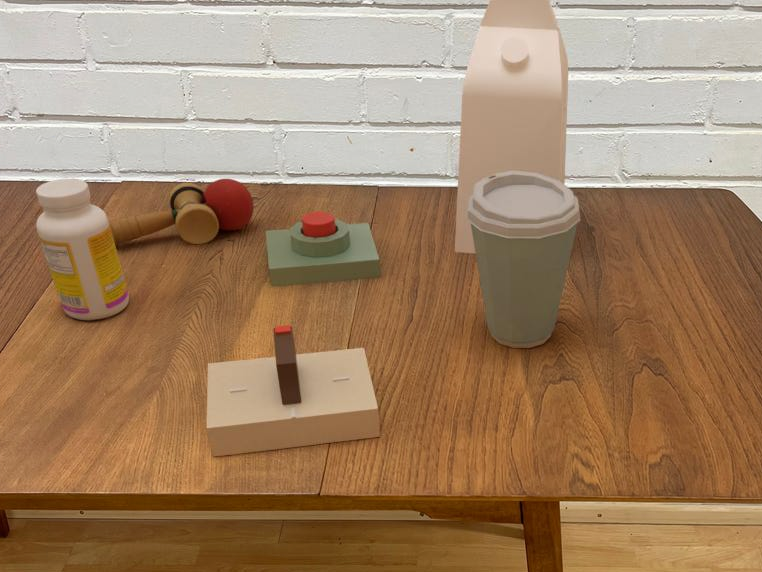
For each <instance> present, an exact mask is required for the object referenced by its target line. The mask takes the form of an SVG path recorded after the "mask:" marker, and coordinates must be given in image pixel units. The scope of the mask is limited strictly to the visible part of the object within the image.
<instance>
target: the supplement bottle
mask: <svg viewBox="0 0 762 572" xmlns="http://www.w3.org/2000/svg"><path fill="white" fill-rule="evenodd" d="M35 193H36V197H37V201H38V204H39V205H40V206H41V207H42V208H43V212H42V213H41V214H40V215H39V216H38V218H37V220H36V223H35V228H36V231H37V235H38V238H39V241H40V245H41V247H42V251H43V253H44V256H45V259H46V263H47V265H48V269H49V272H50V275H51V278H52V281H53V284H54V287H55V291H56V294H57V296H58V300H59V302H60V305H61V307H62V309H63V312H64V313H65V314H66V315H68V316H69V317H70V318H73V319H76V320H79V321H96V320H102V319H106V318H110V317H113V316H115V315H117V314H119V313H120V312H122V311H123V310H124V309H126V308H127V306H128V304H129V301H130V293H129V289H128V287H127V283H126V280H125V276H124V272H123V268H122V265H121V261H120V257H119V253H118V250H117V246H115V243H114V239H113V236H112V232H111V228H110V224H109V222H110V220H109V218H108V216H107V213H105V211H104V209H102V208H101V207H99V206H97V205H95V204H91V197H92V195H91V191H90V188H89V184H88V183H87V182H86V181H84V180H82V179H78V178H60V179H55V180H54V179H53V180H50V181H47V182H45V183H42V184H40V185H39V186H38V187H37V188H36V190H35Z"/></svg>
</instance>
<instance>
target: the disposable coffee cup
mask: <svg viewBox="0 0 762 572" xmlns="http://www.w3.org/2000/svg"><path fill="white" fill-rule="evenodd" d="M466 220H468V221H469V222H470V223H471V229H472V235H473V241H474V247H475V253H476V254H475V253H474V254H475V258H476V265H477V271H478V277H479V283H480V289H481V295H482V302H483V308H484V313H485V319H486V326H487V331H489V332H490V336H491V338H492V339H493V340H495V341H496V342H497V343H498V344H499V345H503V346H507V347H508V348H512V349H530V348H533V347H538V346H540V345H543V344H545V343H546V342H547V341H548V340H549V339H550V338H551V337H552V333H553V332H555V328H556V324H557V320H558V319H557V318H558V314H559V309H560V305H561V300H562V296H563V291H564V287H565V282H566V277H567V272H568V268H569V264H570V259H571V256H572V255H571V254H572V250H573V246H574V241H575V237H576V232H577V228H578V223H579V222H580V221H581V213H580V205H579V198H578V197H577V196H576V195H574V191H573V190H571V188H569V187H568V186H567V185H566V184H563V183H561V182H560V181H559V180H556V179H553V178H550V177H547V176H544V175H541V174H538V173H533V172H521V171H507V172H502V173H498V174H493V175H490V176H488V177H485V178H484V179H482V180H481V181H479V182H477V183H476V184H474V189H473V195H472V196H470V197H469V203H468V208H467V217H466Z"/></svg>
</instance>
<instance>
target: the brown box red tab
mask: <svg viewBox="0 0 762 572" xmlns="http://www.w3.org/2000/svg"><path fill="white" fill-rule="evenodd" d="M272 331H273V342H274V357H276V367H277V374H278V380H279V387H280V393H281V399H282V404H283V405H284V404H293V403H301V393H300V384H299V374H298V365H297V358H296V355H297V351H296V345H295V343H296V342H295V336H294V329H293V326H291V325H290V324H287V325H276V326H274V327H273V329H272Z"/></svg>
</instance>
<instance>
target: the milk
mask: <svg viewBox="0 0 762 572" xmlns="http://www.w3.org/2000/svg"><path fill="white" fill-rule="evenodd" d="M462 85H463V86H462V93H461V114H460V131H459V132H460V134H459V152H458V153H459V154H458V171H457V172H458V175H457V193H456V194H457V196H456V215H455V235H454V236H455V237H454V238H455V239H454V253H461V254H462V253H464V254H475V255H476V253H475V247H474V241H473V235H472V229H471V223H470V222H469V221H468V220H466V217H467V208H468V203H469V197H470V196H472V195H473V189H474V184H476V183H477V182H479V181H481V180H482V179H484V178H485V177H488V176H490V175H493V174H498V173H502V172H507V171H521V172H533V173H538V174H541V175H544V176H547V177H550V178H553V179H556V180H559V181H560V182H561V183H563V184H564V185H566V184H565V181H566V151H567V123H568V94H569V92H568V91H569V61H568V54H567V50H566V47H565V43H564V41H563V36H562V33H561V30H560V27H559V24H558V20H557V17H556V15H555V12H554V8H553V6H552V3H551V0H489V2H488V5H487V7H486V9H485V12H484V15H483V17H482V19H481V22H480V27H479V28H478V31H477V35H476V38H475V41H474V44H473V47H472V51H471V54H470V58H469V61H468V64H467V68H466V72H465V75H464V80H463V84H462Z"/></svg>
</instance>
